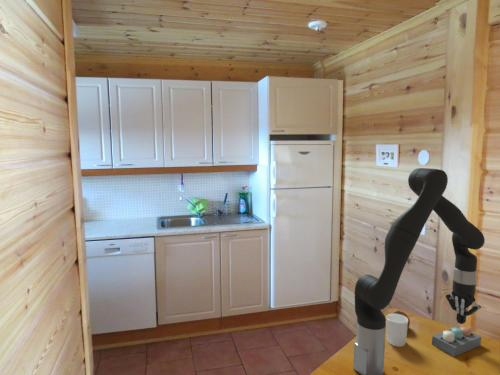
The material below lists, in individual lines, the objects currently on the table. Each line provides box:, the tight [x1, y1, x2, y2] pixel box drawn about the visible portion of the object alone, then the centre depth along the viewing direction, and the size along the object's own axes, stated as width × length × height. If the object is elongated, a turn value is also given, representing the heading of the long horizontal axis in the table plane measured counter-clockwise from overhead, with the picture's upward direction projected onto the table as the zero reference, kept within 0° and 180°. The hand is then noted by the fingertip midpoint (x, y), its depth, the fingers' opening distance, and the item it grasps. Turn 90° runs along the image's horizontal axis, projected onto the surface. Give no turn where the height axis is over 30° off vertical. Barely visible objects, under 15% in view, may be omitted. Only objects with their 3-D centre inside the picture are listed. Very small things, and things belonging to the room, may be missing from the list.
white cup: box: [385, 312, 409, 347], centre depth 139 cm, size 8×8×10 cm
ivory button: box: [442, 330, 455, 344], centre depth 134 cm, size 4×4×4 cm
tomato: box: [393, 310, 411, 328], centre depth 149 cm, size 8×8×7 cm
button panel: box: [431, 325, 482, 357], centre depth 137 cm, size 16×9×4 cm, turn 116°
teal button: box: [451, 326, 463, 341], centre depth 136 cm, size 4×4×4 cm
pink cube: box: [460, 326, 472, 337], centre depth 139 cm, size 4×4×4 cm
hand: (460, 322), depth 137 cm, fingers closed
